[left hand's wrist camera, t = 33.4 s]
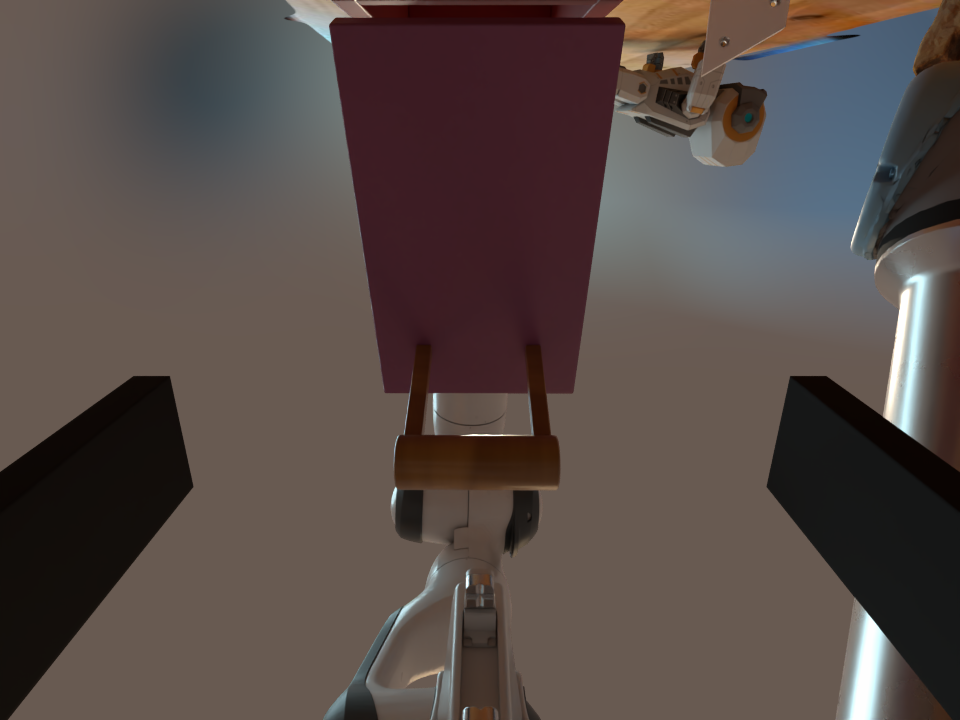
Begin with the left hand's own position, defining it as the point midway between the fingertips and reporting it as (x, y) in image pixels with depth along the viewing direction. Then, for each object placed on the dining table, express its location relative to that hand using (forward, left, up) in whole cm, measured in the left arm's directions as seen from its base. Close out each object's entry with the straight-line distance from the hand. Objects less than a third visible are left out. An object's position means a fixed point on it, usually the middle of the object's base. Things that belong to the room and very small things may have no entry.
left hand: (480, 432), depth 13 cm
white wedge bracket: (+26, +41, -20) cm, 53 cm away
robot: (+76, +86, -20) cm, 117 cm away
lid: (+11, +7, -2) cm, 13 cm away
